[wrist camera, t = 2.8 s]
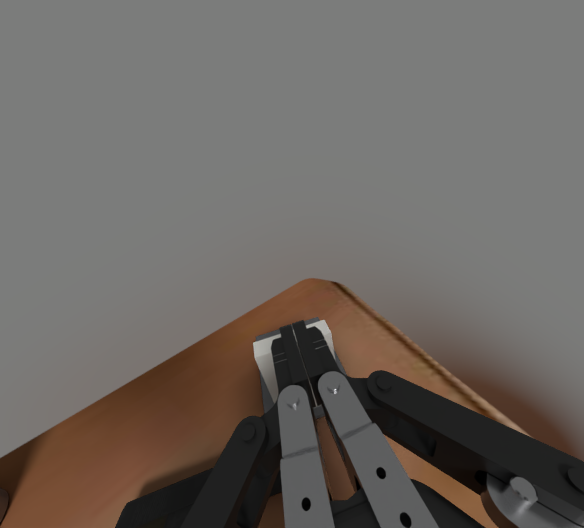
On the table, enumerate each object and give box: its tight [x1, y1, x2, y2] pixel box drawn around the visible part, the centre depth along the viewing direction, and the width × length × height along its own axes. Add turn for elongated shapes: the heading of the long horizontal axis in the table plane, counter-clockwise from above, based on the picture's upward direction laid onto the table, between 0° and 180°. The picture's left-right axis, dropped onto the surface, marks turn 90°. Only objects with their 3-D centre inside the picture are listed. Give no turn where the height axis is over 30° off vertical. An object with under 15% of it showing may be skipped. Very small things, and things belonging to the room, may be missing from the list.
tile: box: [253, 320, 335, 408], centre depth 26 cm, size 2×8×12 cm, turn 103°
